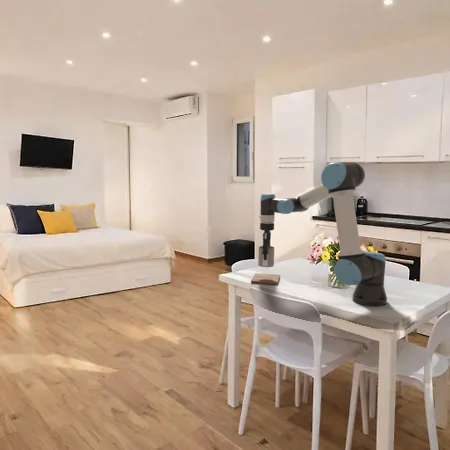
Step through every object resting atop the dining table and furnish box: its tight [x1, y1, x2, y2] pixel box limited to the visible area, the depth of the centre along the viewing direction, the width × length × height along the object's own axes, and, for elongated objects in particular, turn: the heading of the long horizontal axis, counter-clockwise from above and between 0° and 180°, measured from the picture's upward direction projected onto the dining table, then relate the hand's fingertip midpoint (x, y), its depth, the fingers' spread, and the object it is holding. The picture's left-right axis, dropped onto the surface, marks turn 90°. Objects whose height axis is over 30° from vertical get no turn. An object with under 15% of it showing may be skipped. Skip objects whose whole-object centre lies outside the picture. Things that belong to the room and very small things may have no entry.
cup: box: [257, 245, 275, 268], centre depth 231 cm, size 8×8×10 cm
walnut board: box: [250, 272, 281, 286], centre depth 233 cm, size 16×14×2 cm
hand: (266, 263), depth 232 cm, fingers closed on cup, 8 cm apart
